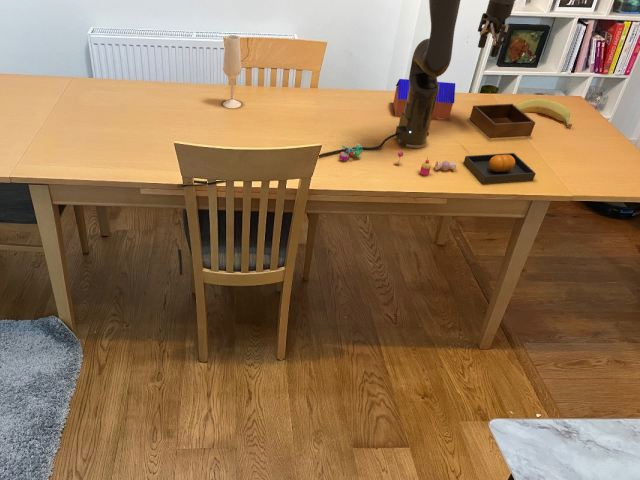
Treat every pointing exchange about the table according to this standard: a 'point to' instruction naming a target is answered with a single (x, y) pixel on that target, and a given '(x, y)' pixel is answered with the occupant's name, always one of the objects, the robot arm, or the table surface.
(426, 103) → the robot arm
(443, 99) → the house
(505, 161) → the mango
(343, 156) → the anatomy model
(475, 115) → the brown wooden box
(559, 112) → the banana
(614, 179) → the table surface
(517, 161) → the tray
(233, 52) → the champagne flute
